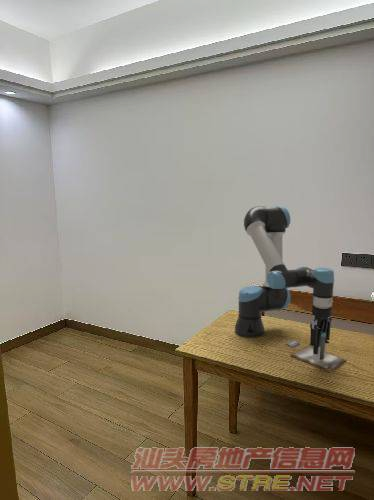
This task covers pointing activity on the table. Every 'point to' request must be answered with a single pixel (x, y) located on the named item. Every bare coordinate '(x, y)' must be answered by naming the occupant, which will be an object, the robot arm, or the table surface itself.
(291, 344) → the word card
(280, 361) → the table surface
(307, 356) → the clipboard
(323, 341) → the marker
